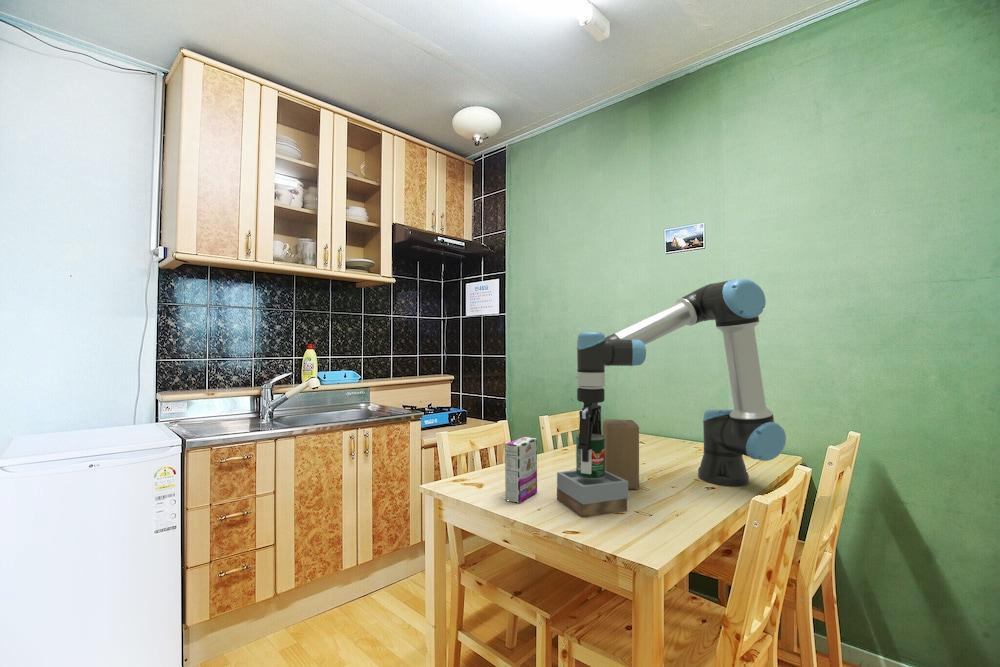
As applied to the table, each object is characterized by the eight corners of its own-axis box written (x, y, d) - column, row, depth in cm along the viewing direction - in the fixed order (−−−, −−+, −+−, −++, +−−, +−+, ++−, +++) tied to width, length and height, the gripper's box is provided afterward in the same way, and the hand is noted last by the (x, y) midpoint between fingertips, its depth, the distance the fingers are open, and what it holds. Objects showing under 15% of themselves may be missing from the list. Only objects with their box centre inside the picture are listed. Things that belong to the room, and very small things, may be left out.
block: (633, 480, 149) (633, 419, 149) (639, 490, 139) (639, 424, 139) (602, 479, 150) (602, 418, 150) (606, 489, 140) (606, 424, 140)
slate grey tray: (598, 482, 135) (598, 467, 135) (628, 498, 122) (628, 481, 122) (557, 488, 130) (557, 472, 130) (583, 504, 117) (583, 486, 117)
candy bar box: (523, 490, 139) (523, 436, 139) (537, 493, 136) (537, 438, 137) (503, 500, 129) (504, 443, 130) (519, 504, 127) (519, 445, 127)
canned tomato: (586, 469, 132) (586, 431, 132) (610, 475, 127) (610, 435, 127) (570, 475, 127) (570, 435, 127) (594, 481, 121) (594, 440, 121)
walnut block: (599, 496, 136) (599, 482, 136) (627, 512, 122) (627, 497, 122) (556, 501, 131) (556, 487, 131) (580, 519, 118) (580, 503, 118)
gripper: (587, 383, 138) (587, 459, 138) (565, 390, 119) (565, 477, 119) (612, 384, 134) (612, 462, 134) (594, 391, 116) (593, 481, 116)
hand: (590, 469), depth 127 cm, fingers closed on canned tomato, 8 cm apart
